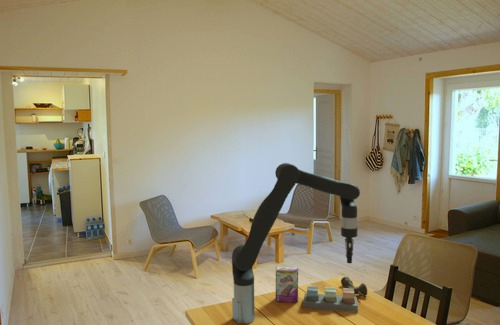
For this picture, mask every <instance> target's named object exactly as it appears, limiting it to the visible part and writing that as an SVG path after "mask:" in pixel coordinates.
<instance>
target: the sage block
mask: <svg viewBox="0 0 500 325" xmlns="http://www.w3.org/2000/svg"><path fill="white" fill-rule="evenodd" d="M324 293H325V301H328V302H336V295H337V290H336V287H334V286H333V287H331V286H325V287H324Z"/></svg>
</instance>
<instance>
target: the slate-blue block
mask: <svg viewBox="0 0 500 325" xmlns="http://www.w3.org/2000/svg"><path fill="white" fill-rule="evenodd" d="M306 287H307V288H306V293H307V300H313V301H318V294H319V287H318V285H317V286H316V285H315V286H314V285H307V286H306Z"/></svg>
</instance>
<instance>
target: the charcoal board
mask: <svg viewBox="0 0 500 325" xmlns="http://www.w3.org/2000/svg"><path fill="white" fill-rule="evenodd" d="M303 297H304V298H303V309H312V310H324V311H326V310H327V311H337V312H352V313H358V312H359V305H358V299H357V296H355V295H354V303H343V295H337V294H336V302H328V301H325V295H324V293H322V294H321V293H318V301H313V300H307V292H306V293H305V292H304V296H303Z"/></svg>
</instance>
